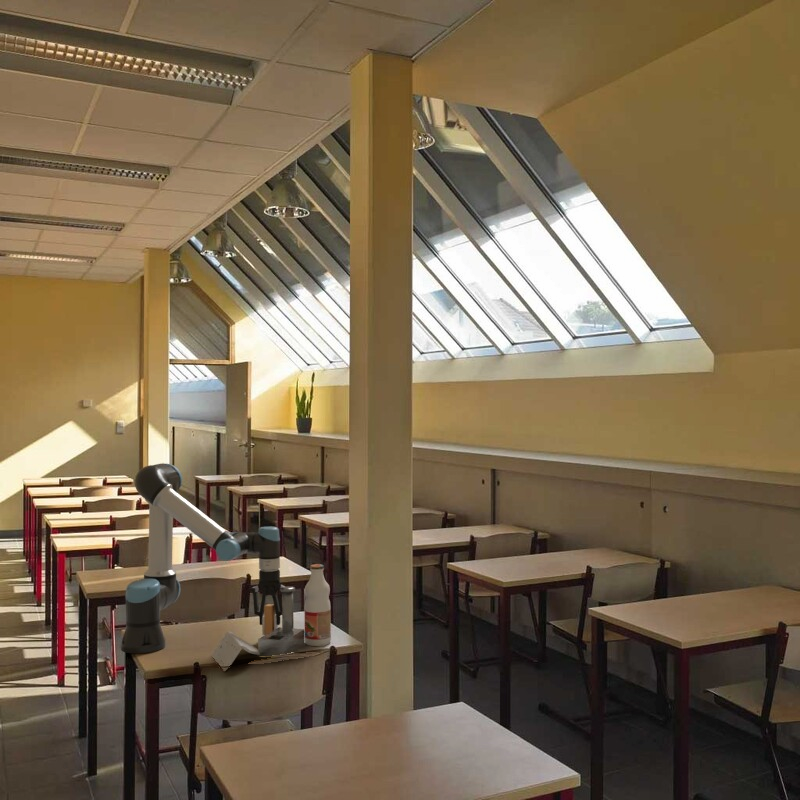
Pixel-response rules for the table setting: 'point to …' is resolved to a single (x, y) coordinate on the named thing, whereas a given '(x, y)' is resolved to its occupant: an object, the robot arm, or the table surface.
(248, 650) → the bracket
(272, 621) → the tan wooden beam
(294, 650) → the grey post stand
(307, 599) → the fruit juice
